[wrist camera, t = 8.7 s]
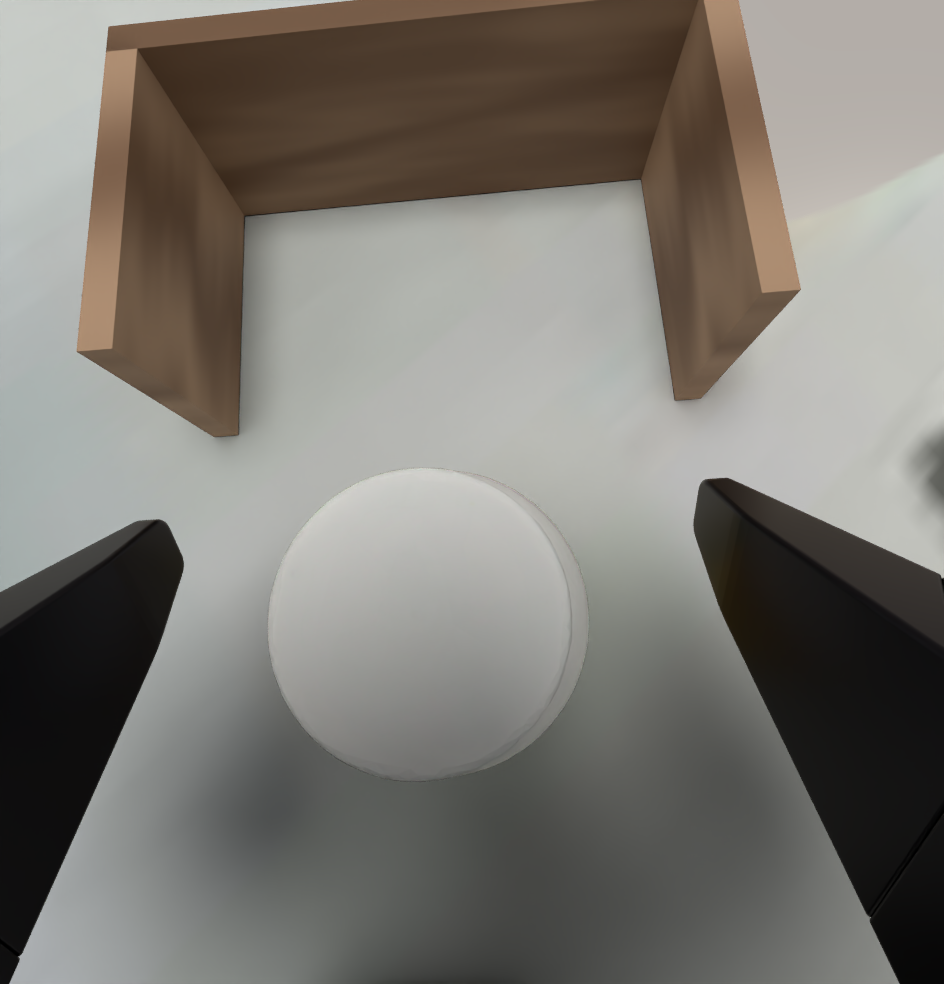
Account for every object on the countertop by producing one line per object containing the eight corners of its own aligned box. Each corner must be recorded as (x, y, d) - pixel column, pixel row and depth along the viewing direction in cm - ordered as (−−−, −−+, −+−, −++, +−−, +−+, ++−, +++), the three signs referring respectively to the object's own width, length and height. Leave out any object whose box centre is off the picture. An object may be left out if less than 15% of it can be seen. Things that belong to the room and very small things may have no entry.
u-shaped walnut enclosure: (700, 398, 18) (800, 289, 12) (213, 437, 18) (76, 351, 12) (660, 157, 20) (729, -40, 14) (223, 198, 20) (108, 26, 14)
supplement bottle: (341, 661, 16) (129, 722, 7) (419, 497, 17) (323, 359, 8) (509, 743, 16) (525, 935, 6) (581, 568, 17) (687, 508, 7)
